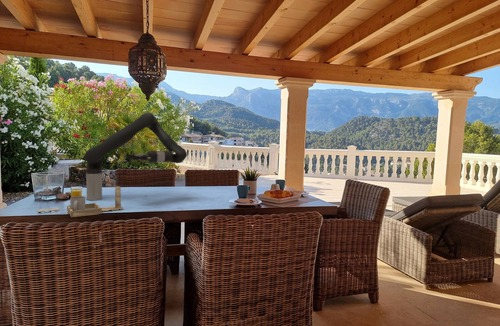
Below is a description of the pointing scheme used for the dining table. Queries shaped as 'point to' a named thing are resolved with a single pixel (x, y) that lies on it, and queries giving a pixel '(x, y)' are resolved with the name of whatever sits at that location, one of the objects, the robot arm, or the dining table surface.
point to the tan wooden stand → (97, 206)
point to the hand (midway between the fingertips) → (129, 157)
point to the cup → (77, 203)
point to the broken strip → (48, 209)
